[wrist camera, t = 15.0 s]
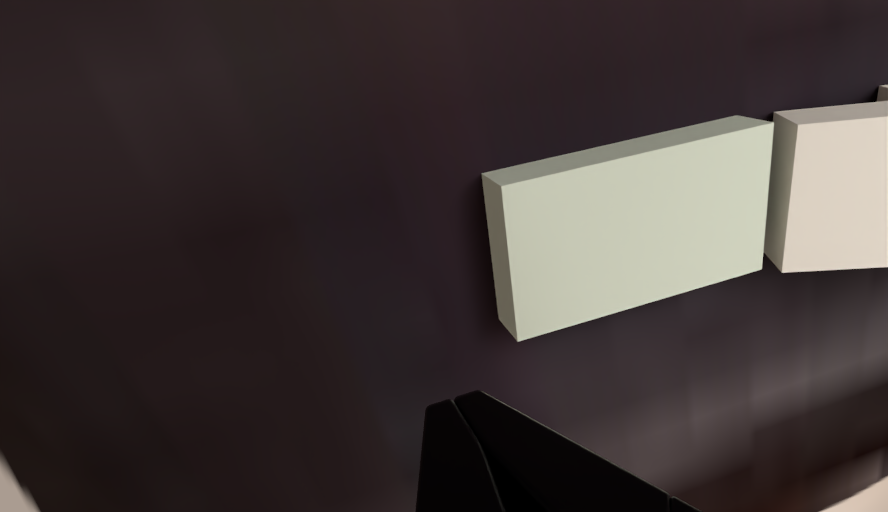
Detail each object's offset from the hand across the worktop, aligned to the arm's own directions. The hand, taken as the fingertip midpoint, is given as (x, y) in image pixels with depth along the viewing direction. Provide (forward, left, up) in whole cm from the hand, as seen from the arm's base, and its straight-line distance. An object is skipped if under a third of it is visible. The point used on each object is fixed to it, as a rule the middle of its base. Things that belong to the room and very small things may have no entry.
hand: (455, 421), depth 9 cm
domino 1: (-2, +4, -9) cm, 10 cm away
